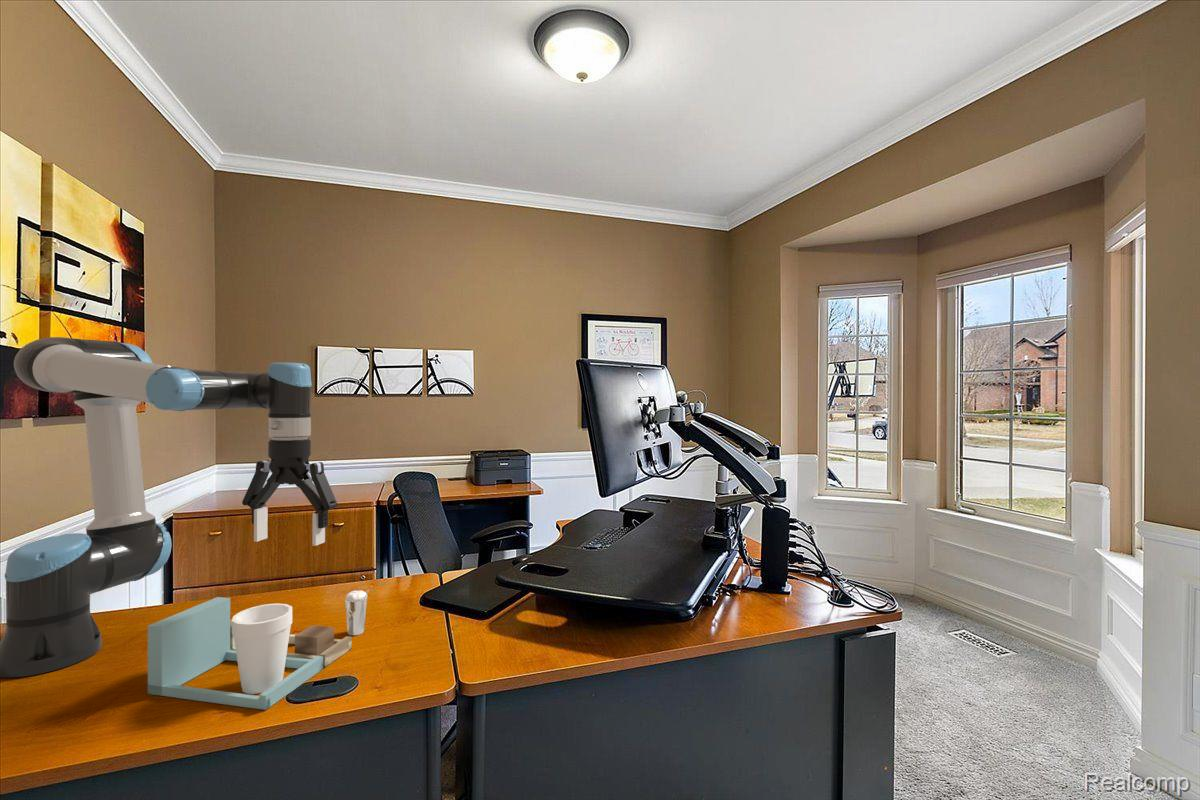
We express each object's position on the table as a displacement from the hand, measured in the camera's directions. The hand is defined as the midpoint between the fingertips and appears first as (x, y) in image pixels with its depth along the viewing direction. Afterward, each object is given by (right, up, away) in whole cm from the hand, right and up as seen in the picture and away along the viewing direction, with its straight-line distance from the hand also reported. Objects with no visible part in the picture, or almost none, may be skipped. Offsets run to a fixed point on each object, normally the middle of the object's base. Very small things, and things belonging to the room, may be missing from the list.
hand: (289, 542), depth 110 cm
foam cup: (+2, -23, -12) cm, 26 cm away
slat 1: (-7, -23, +1) cm, 24 cm away
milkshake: (+10, -23, +9) cm, 27 cm away
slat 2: (+6, -23, -1) cm, 24 cm away
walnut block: (+6, -23, -1) cm, 24 cm away
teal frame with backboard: (-3, -23, -11) cm, 25 cm away
